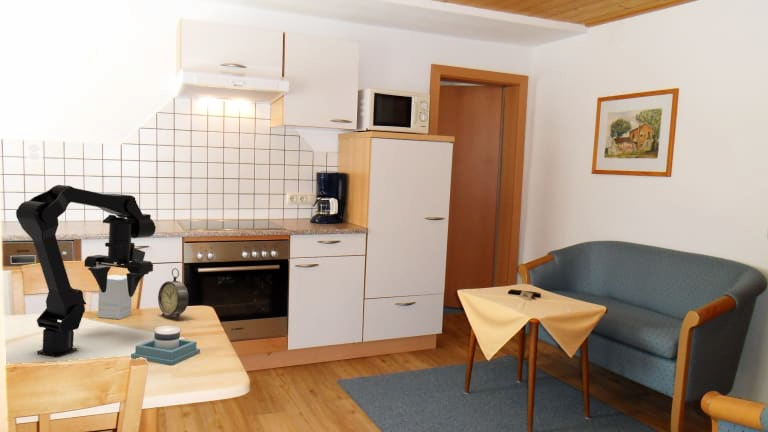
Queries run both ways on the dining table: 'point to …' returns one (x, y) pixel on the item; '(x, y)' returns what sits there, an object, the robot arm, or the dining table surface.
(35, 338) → the dining table surface
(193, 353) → the square tray
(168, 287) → the alarm clock
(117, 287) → the supplement box
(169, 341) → the lens
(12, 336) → the dining table surface
